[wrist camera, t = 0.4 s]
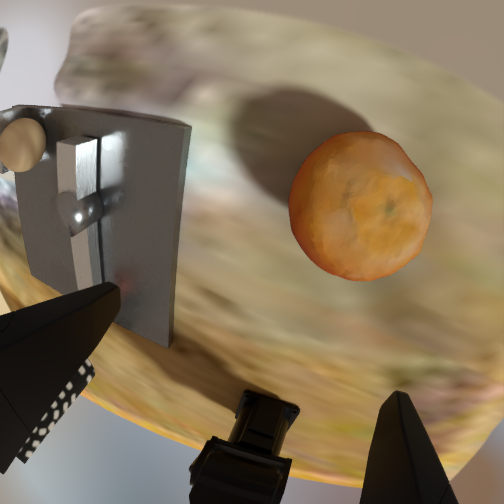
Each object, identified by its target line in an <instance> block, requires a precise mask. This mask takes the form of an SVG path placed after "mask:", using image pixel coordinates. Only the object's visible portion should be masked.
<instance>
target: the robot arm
mask: <svg viewBox="0 0 504 504" xmlns="http://www.w3.org/2000/svg"><path fill="white" fill-rule="evenodd" d="M120 308H121V293H120V287H119V286H118V285H116V284H114V283H112V282H110V281H108V282H104V283H101V284H98V285H94V286H91V287H88V288H85V289H82V290H78V291H75V292H72V293H69V294H66V295H63V296H60V297H56V298H53V299H50V300H47V301H44V302H41V303H38V304H35V305H32V306H28V307H25V308H22V309H19V310H16V311H13V312H10V313H7V314H3V315H0V473H2V474H4V473H5V472H6V471H7V469H8V467H9V466H10V464H11V463H12V461H13V460H14V458H15V457H16V456H17V454H18V453H19V451H20V450H21V448H22V447H23V445H24V444H25V442H26V441H27V440H28V438H29V437H30V435H31V433H32V432H33V431H34V429H35V428H36V426H37V425H38V424H39V422H40V421H41V419H42V418H43V417H44V415H45V414H46V413H47V411H48V410H49V408H50V407H51V406H52V404H53V403H54V402H55V400H56V399H57V398H58V396H59V395H60V394H61V392H62V391H63V390H64V388H65V387H66V386H67V384H68V383H69V382H70V380H71V379H72V378H73V376H74V375H75V374H76V372H77V371H78V370H79V369H80V367H81V366H82V365H83V363H84V362H85V361H86V360H87V358H88V357H89V356H90V355H91V353H92V352H93V351H94V349H95V348H96V347H97V345H98V344H99V342H100V341H101V339H102V338H103V336H104V334H105V333H106V331H107V330H108V328H109V327H110V325H111V323H112V322H113V320H114V319H115V317H116V316H117V314H118V313H119V311H120ZM299 412H300V409H299V408H298V407H295V406H292V405H289V404H286V403H283V402H279V401H276V400H274V399H271V398H268V397H265V396H262V395H259V394H256V393H253V392H251V391H247V390H246V391H244V392H243V395H242V398H241V401H240V404H239V406H238V409H237V412H236V415H235V418H236V419H237V420H236V422H235V425H234V427H233V429H232V432H231V434H230V436H229V438H228V441H225V440H222V439H219V438H218V437H216V436H212V438H211V440H207V442H206V444H205V446H204V448H203V450H202V451H201V453H200V454H199V456H198V457H197V458H196V459H195V460H194V462H193V463H192V464H191V465H190V467H189V471H190V473H191V477H190V478H191V479H190V485H192V486H193V487H192V489H191V492H190V494H189V500H190V504H280V502H281V499H282V496H283V494H284V490H285V487H286V483H287V479H288V475H289V471H290V467H291V463H292V459H290V458H287V459H286V458H282V457H279V454H280V451H281V448H282V445H283V441H284V438H285V435H286V432H287V431H288V429H289V428H290V427H291V425H292V424H293V422H294V421H295V419H296V418H297V416H298V415H299ZM359 504H459V503H458V501H457V499H456V496H455V494H454V492H453V489H452V487H451V485H450V484H449V480H448V478H447V476H446V473H445V471H444V469H443V466H442V464H441V462H440V460H439V457H438V455H437V453H436V451H435V449H434V447H433V444H432V442H431V440H430V438H429V436H428V434H427V432H426V429H425V427H424V425H423V423H422V421H421V419H420V417H419V415H418V413H417V411H416V409H415V407H414V405H413V403H412V401H411V399H410V397H409V395H408V394H407V393H405V392H402V391H398V390H396V391H394V392H393V393H392V394H391V395H390V396H389V398H388V399H387V400H386V401H385V402H384V403H383V404H382V406H381V408H380V410H379V414H378V419H377V423H376V427H375V431H374V435H373V439H372V443H371V446H370V450H369V455H368V461H367V467H366V472H365V478H364V483H363V489H362V494H361V498H360V503H359Z"/></svg>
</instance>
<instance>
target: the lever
mask: <svg viewBox="0 0 504 504" xmlns="http://www.w3.org/2000/svg"><path fill="white" fill-rule="evenodd" d="M96 151H97V139H93V138H88V137H83V136H74V137H71V138H68V139H65V140H61V141H58V142H57V176H58V194H57V195H55V196H54V197H53V198H52V200H51V203H50V213H51V217H52V220H53V222H54V224H55V226H56V228H57V229H58V230H59V231H60V232H61V233H62V234H63V235H65V236H67V237H71V245H72V253H73V260H74V267H75V274H76V280H77V286H78V290H82V289H85V288H88V287H91V286H94V285H98V284H101V283H102V277H101V267H100V256H99V243H98V227H97V221H98V220H99V219H100V218H101V215H102V202H101V199H100V197H99V194H98V193H97V191H96Z"/></svg>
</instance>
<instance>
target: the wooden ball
mask: <svg viewBox="0 0 504 504" xmlns="http://www.w3.org/2000/svg"><path fill="white" fill-rule="evenodd" d="M45 149H46V134H45V131H44V129H43V128H42V126H41V125H40V124H39V123H38V122H37V121H35V120H33V119H30V118H21V119H17V120H15V121H13V122H11V123H10V124H9V125H8V126H7V127H6V128H5V129H4V131H3V132H2V134H1V136H0V160H1V162H2V164H3V165H4V166H5V167H6V168H8V169H9V170H11V171H14V172H24V171H27V170H30V169H31V168H33V167H34V166H36V165H37V164H38V163H39V161H40V160H41V159H42V157H43V155H44V152H45Z"/></svg>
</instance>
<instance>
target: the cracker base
mask: <svg viewBox="0 0 504 504" xmlns="http://www.w3.org/2000/svg"><path fill="white" fill-rule="evenodd" d="M21 118H30V119H33V120H35V121H37V122H38V123H39V124H40V125H41V126H42V128H43V129H44V131H45V134H46V149H45V152H44V155H43V157H42V159H41V160H40V161H39V163H38V164H37V165H36V166H34V167H33V168H31V169H30V170H27V171H24V172H14V173H15V184H16V193H17V201H18V208H19V215H20V221H21V227H22V233H23V238H24V243H25V248H26V253H27V258H28V262H29V267H30V271H31V275H32V276H34V277H36V278H37V279H39V280H40V281H42V282H44V283H45V284H47V285H49V286H50V287H52V288H53V289H55V290H57V291H58V292H60V293H62V294H64V295H66V294H69V293H72V292H75V291H78V286H77V280H76V274H75V267H74V260H73V253H72V245H71V237H67V236H65V235H63V234H62V233H61V232H60V231H59V230H58V229H57V228H56V226H55V224H54V222H53V220H52V217H51V213H50V203H51V200H52V198H53V197H54V196H55V195H57V194H58V176H57V142H58V141H61V140H65V139H68V138H71V137H74V136H83V137H88V138H93V139H97V151H96V191H97V193H98V194H99V197H100V199H101V202H102V215H101V218H100V219H99V220H98V221H97V227H98V243H99V256H100V267H101V277H102V283H104V282H108V281H110V282H112V283H114V284H116V285H118V286H119V287H120V293H121V308H120V311H119V313H118V314H117V316H116V317H115V319H114V320H113V322H114V323H116V324H118V325H120V326H122V327H124V328H126V329H128V330H130V331H132V332H134V333H136V334H138V335H140V336H142V337H144V338H146V339H149V340H151V341H153V342H155V343H157V344H159V345H161V346H164V347H166V348H169V347H170V345H171V344H172V343H173V319H174V299H175V283H176V268H177V255H178V242H179V231H180V221H181V210H182V201H183V192H184V183H185V175H186V167H187V159H188V151H189V144H190V137H191V130H192V127H191V126H186V125H181V124H175V123H170V122H165V121H159V120H153V119H148V118H141V117H135V116H129V115H122V114H115V113H108V112H100V111H91V110H83V109H73V108H62V107H50V106H36V105H16V106H12V108H10V109H7V110H3V111H0V136H1V134H2V132H3V131H4V129H5V128H6V127H7V126H8V125H9V124H10V123H11V122H13V121H15V120H17V119H21ZM8 171H10V170H9V169H8V168H6V167H5V166H4V165H3V164H2V162H1V160H0V173H2V174H3V173H5V172H8Z"/></svg>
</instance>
